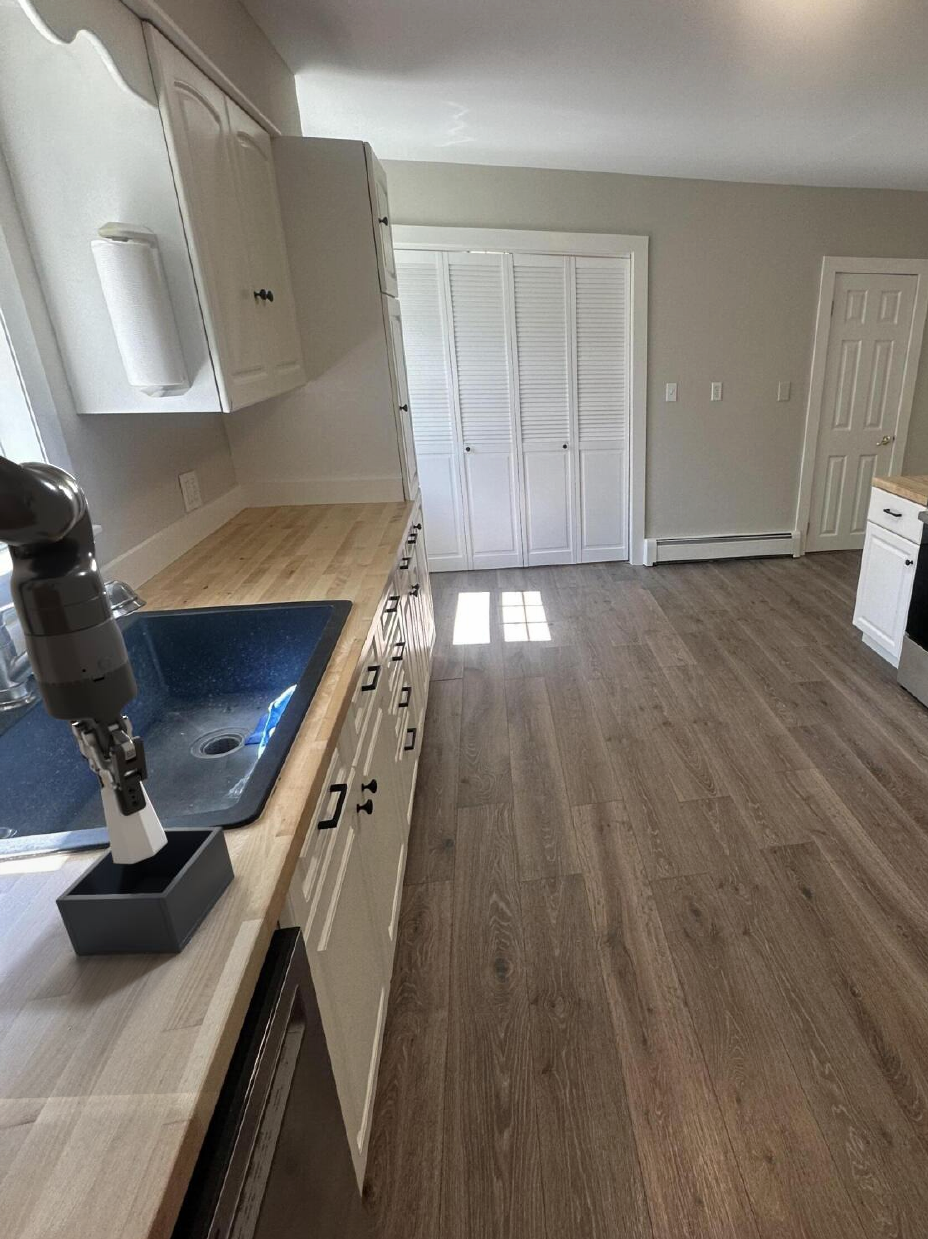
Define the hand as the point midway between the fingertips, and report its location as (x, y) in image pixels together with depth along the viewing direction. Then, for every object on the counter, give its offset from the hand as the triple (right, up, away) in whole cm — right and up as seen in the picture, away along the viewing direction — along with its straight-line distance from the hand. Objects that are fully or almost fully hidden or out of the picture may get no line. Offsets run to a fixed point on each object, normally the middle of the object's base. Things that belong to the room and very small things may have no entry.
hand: (125, 803), depth 73 cm
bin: (0, -15, +6) cm, 16 cm away
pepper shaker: (0, -6, +2) cm, 6 cm away
